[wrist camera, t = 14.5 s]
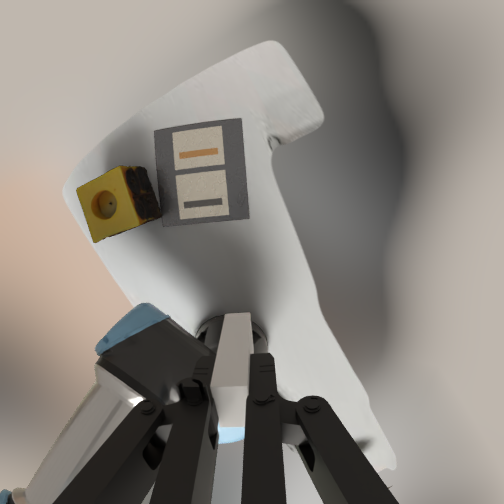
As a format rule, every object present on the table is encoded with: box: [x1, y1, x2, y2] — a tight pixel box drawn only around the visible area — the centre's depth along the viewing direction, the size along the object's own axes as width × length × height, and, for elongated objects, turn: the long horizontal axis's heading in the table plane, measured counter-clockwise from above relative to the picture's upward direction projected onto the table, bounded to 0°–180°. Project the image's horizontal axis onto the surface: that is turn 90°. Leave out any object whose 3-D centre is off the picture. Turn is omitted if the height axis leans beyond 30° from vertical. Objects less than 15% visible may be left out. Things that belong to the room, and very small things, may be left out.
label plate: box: [154, 119, 249, 227], centre depth 47 cm, size 18×16×1 cm
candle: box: [76, 166, 162, 243], centre depth 44 cm, size 10×10×10 cm
